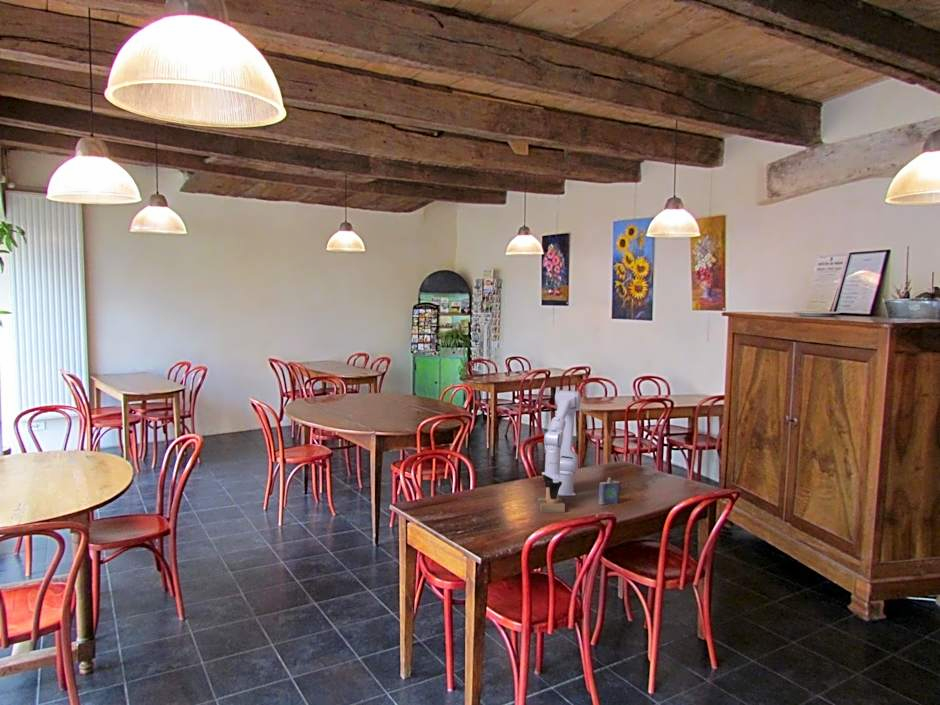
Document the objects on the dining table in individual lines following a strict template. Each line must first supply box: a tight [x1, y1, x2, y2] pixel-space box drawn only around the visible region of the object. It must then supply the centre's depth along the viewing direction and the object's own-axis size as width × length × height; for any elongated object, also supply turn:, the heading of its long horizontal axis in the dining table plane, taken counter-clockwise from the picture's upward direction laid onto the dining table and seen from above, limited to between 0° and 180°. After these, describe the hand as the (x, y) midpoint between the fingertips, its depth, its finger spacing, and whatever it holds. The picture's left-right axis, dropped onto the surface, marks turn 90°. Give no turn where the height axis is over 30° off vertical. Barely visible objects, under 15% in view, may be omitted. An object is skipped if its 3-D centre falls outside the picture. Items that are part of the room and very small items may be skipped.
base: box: [537, 497, 566, 513], centre depth 253 cm, size 9×9×3 cm
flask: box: [597, 477, 621, 506], centre depth 261 cm, size 9×3×11 cm, turn 109°
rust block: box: [545, 486, 559, 503], centre depth 253 cm, size 4×4×5 cm
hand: (551, 495), depth 253 cm, fingers open, 7 cm apart
